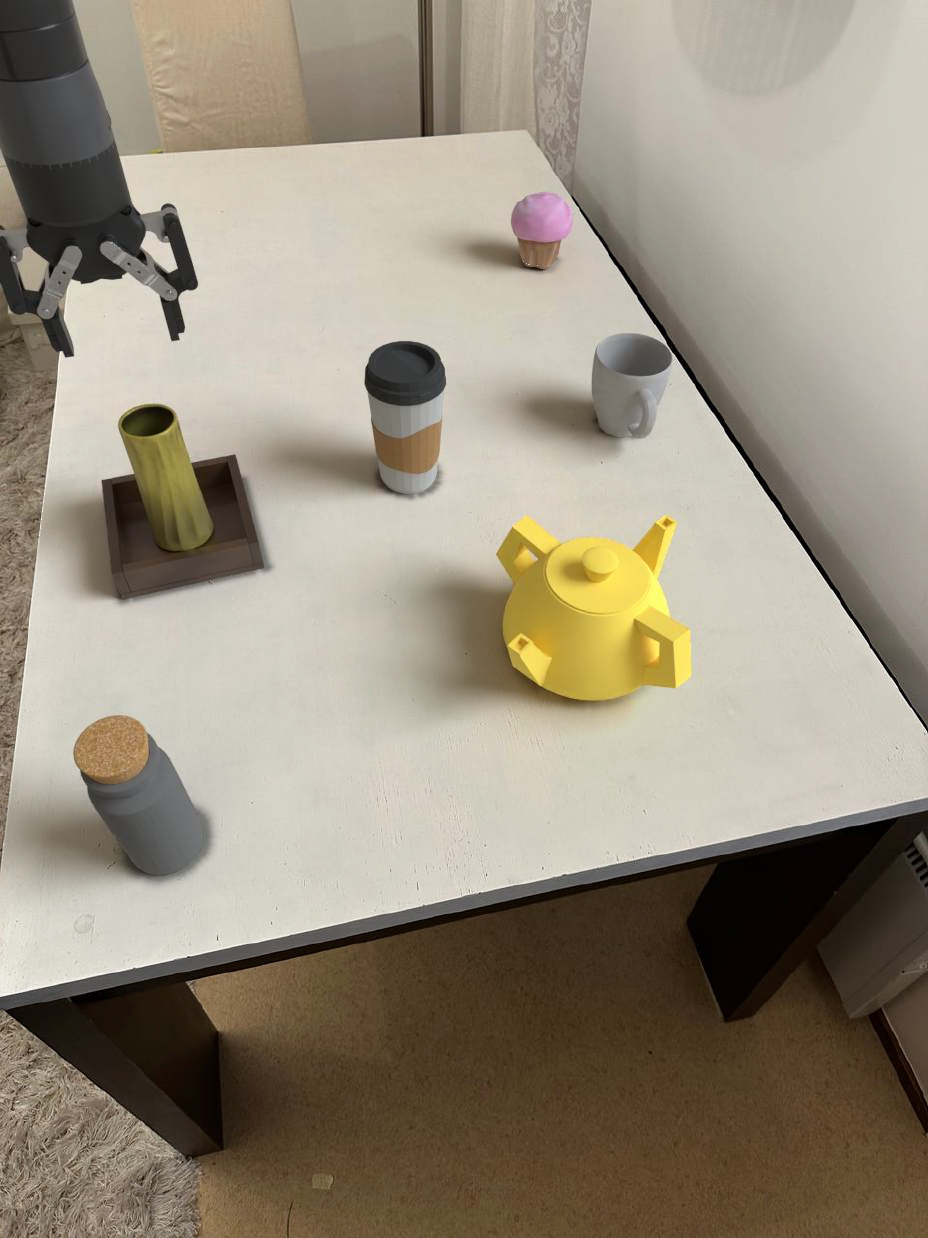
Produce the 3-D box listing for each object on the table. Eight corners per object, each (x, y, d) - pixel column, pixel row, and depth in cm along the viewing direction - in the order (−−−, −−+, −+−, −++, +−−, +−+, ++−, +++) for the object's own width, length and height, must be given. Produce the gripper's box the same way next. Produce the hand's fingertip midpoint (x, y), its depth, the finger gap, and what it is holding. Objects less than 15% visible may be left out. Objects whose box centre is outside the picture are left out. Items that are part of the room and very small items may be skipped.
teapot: (681, 720, 75) (715, 638, 66) (496, 717, 75) (504, 634, 66) (655, 581, 86) (681, 493, 77) (492, 578, 86) (499, 489, 77)
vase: (147, 522, 89) (105, 410, 78) (204, 504, 91) (172, 393, 79) (162, 560, 85) (121, 449, 74) (221, 541, 87) (189, 430, 76)
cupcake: (571, 253, 128) (580, 186, 120) (561, 282, 123) (570, 213, 115) (514, 245, 129) (519, 178, 122) (502, 273, 124) (506, 204, 116)
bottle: (131, 885, 65) (63, 794, 53) (127, 817, 68) (63, 718, 57) (208, 865, 66) (158, 771, 54) (201, 800, 70) (153, 698, 58)
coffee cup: (415, 443, 99) (412, 328, 87) (460, 480, 95) (463, 365, 83) (357, 472, 96) (346, 356, 84) (401, 512, 92) (396, 397, 80)
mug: (574, 405, 104) (585, 335, 97) (642, 397, 106) (657, 328, 98) (604, 468, 97) (618, 398, 90) (676, 459, 98) (696, 390, 91)
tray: (122, 600, 83) (111, 574, 80) (112, 506, 91) (101, 479, 88) (264, 568, 86) (258, 541, 83) (241, 480, 94) (235, 453, 91)
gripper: (-58, 171, 55) (34, 384, 67) (167, 147, 58) (215, 354, 70) (-53, 126, 59) (32, 333, 72) (156, 106, 62) (202, 308, 75)
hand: (123, 343), depth 71 cm, fingers open, 8 cm apart
